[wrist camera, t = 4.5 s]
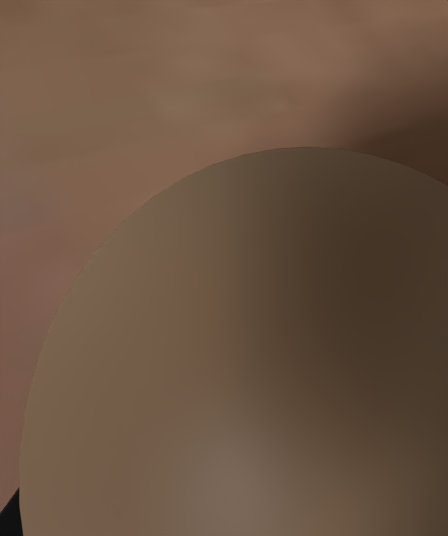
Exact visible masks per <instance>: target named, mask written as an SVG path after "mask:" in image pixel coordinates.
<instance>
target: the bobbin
mask: <svg viewBox="0 0 448 536" xmlns="http://www.w3.org/2000/svg"><path fill="white" fill-rule="evenodd" d="M19 505H20V513H21V521H22V529H23V536H448V186H447V185H446V184H444V183H442V182H440V181H438V180H437V179H435V178H433V177H431V176H429V175H427V174H424V173H422V172H420V171H417V170H415V169H413V168H410V167H408V166H406V165H403V164H401V163H397V162H394V161H391V160H388V159H384V158H381V157H378V156H374V155H371V154H366V153H360V152H355V151H349V150H344V149H334V148H319V147H297V148H280V149H272V150H267V151H261V152H256V153H250V154H245V155H242V156H238V157H235V158H232V159H229V160H226V161H223V162H219V163H216V164H213V165H211V166H209V167H207V168H204V169H202V170H200V171H198V172H196V173H194V174H191V175H189V176H187V177H185V178H183V179H181V180H179V181H178V182H176V183H175V184H173V185H172V186H170V187H168V188H167V189H165V190H164V191H162V192H160V193H159V194H157V195H156V196H154V197H152V198H151V199H150V200H149V201H148V202H146V203H145V204H144V205H143V206H141V207H140V208H139V209H138V210H137V211H135V212H134V213H133V214H132V215H131V216H129V217H128V218H127V219H126V220H124V221H123V222H122V224H121V225H120V226H119V227H118V228H117V229H116V230H115V231H114V232H113V233H112V234H111V235H110V236H109V237H108V238H107V240H106V241H105V242H104V243H103V244H102V245H101V246H100V247H99V248H98V249H97V251H96V252H95V253H94V255H93V256H92V257H91V259H90V260H89V262H88V263H87V264H86V266H85V267H84V268H83V270H82V271H81V273H80V274H79V275H78V277H77V278H76V279H75V281H74V283H73V284H72V286H71V288H70V290H69V292H68V293H67V295H66V297H65V299H64V301H63V303H62V304H61V306H60V308H59V310H58V312H57V314H56V315H55V317H54V319H53V322H52V324H51V327H50V329H49V332H48V334H47V337H46V339H45V342H44V344H43V347H42V350H41V352H40V355H39V357H38V360H37V363H36V367H35V371H34V375H33V379H32V383H31V387H30V391H29V394H28V398H27V402H26V407H25V415H24V423H23V431H22V438H21V446H20V470H19Z"/></svg>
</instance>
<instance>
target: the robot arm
mask: <svg viewBox="0 0 448 536" xmlns="http://www.w3.org/2000/svg"><path fill="white" fill-rule="evenodd" d="M0 536H23V529H22V521H21V513H20V505H19V488H18V489H17V491H16V492H15V494H14V495H13V496H12V498H11V499H10V501H9V502H8V503H7V505H6V506H5V507H4V509H3V510H2V511H1V513H0Z"/></svg>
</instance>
